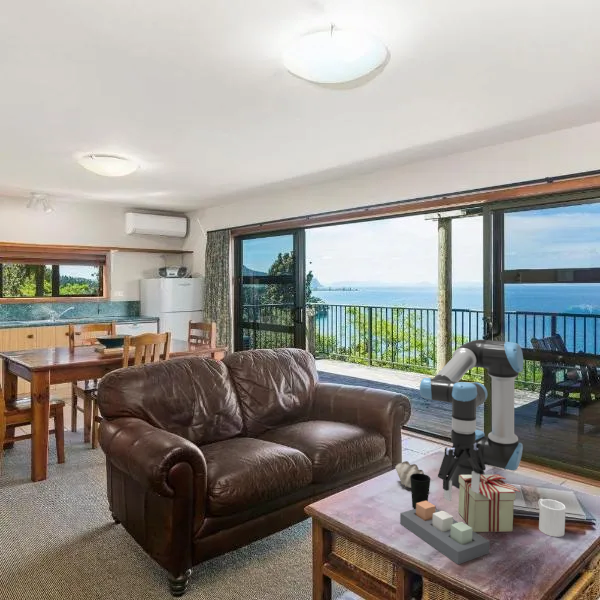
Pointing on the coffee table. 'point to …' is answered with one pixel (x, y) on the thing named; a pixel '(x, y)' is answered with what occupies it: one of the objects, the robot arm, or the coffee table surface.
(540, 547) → the coffee table surface
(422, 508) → the peach cube
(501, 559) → the coffee table surface
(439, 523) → the ivory key
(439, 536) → the key panel
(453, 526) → the sage key
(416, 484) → the cup
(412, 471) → the seashell
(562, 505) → the mug
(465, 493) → the gift box
